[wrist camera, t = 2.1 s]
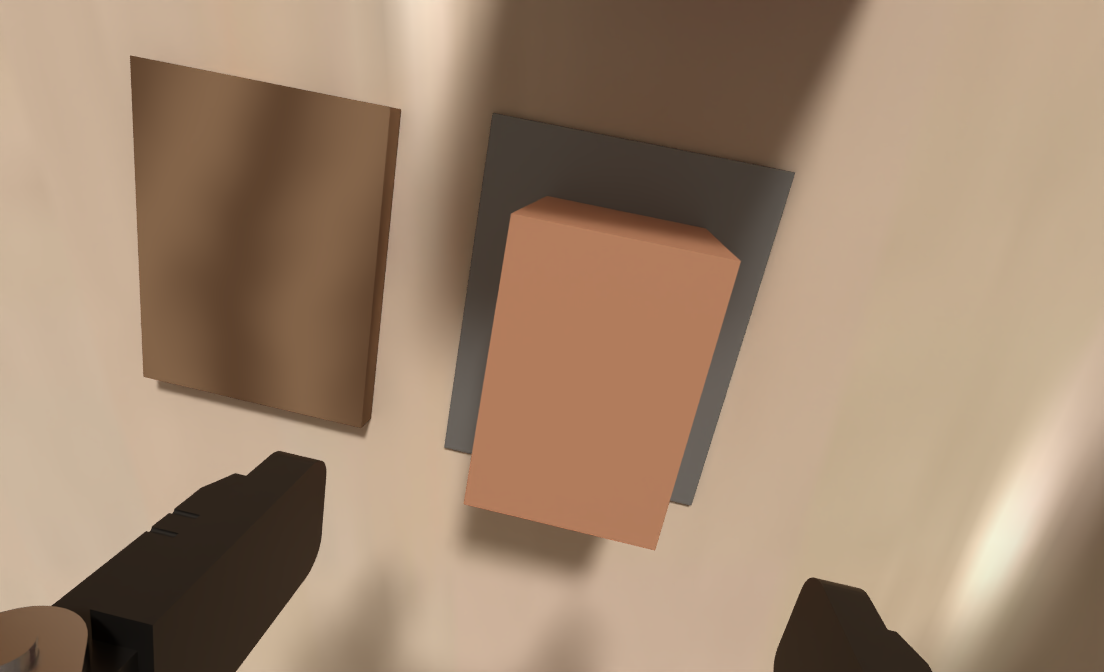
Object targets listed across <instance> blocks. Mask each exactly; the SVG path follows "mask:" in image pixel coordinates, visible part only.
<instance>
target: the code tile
mask: <svg viewBox="0 0 1104 672" xmlns="http://www.w3.org/2000/svg"><path fill="white" fill-rule="evenodd" d="M794 175H795V172H790V171H785V170H780V169H775V168H769V167H764V166H759V165H754V164H749V163H744V162H739V161H734V160H729V159H724V158H719V157H714V156H709V155H704V154H698V153H693V152H688V151H683V150H678V149H673V148H668V147H663V146H658V145H653V144H648V143H643V142H638V141H633V140H628V139H622V138H617V137H612V136H607V135H602V134H597V133H592V132H587V131H582V130H577V129H572V128H567V127H562V126H557V125H552V124H546V123H541V122H536V121H531V120H526V119H521V118H516V117H511V116H506V115H501V114H496V113H493V115H492V122H491V129H490V136H489V143H488V150H487V157H486V163H485V170H484V177H483V184H482V191H481V198H480V205H479V212H478V219H477V225H476V232H475V239H474V246H473V253H472V260H471V267H470V274H469V280H468V287H467V294H466V301H465V308H464V315H463V322H462V329H461V336H460V342H459V349H458V356H457V363H456V370H455V377H454V384H453V391H452V397H451V404H450V411H449V418H448V425H447V432H446V439H445V446H444V447H445V448H449V449H453V450H458V451H462V452H466V453H470V454H472V450H473V444H474V438H475V431H476V425H477V419H478V413H479V407H480V401H481V395H482V389H483V382H484V376H485V370H486V364H487V358H488V352H489V346H490V340H491V333H492V327H493V321H494V315H495V309H496V303H497V297H498V291H499V284H500V278H501V272H502V266H503V260H504V254H505V248H506V242H507V236H508V229H509V223H510V217H511V213H513V212H515V211H517V210H519V209H521V208H523V207H525V206H527V205H529V204H531V203H534V202H536V201H538V200H540V199H542V198H544V197H546V196H550V197H555V198H560V199H565V200H570V201H575V202H579V203H584V204H589V205H594V206H599V207H604V208H609V209H614V210H618V211H623V212H628V213H633V214H638V215H643V216H648V217H653V218H657V219H662V220H667V221H672V222H677V223H682V224H687V225H692V226H696V227H701V228H706V229H707V230H708V231H709V232H710V233H711V234H712V235H713V236H714V237H715V238H717V239H718V240H719V241H720V242H721V243H722V244H723V245H724V246H725V247H726V248H727V249H728V250H729V251H730V252H732V253H733V254H734V255H735V256H736V257H737V258H738V259H739V260H740V261H741V263H740V266H739V269H738V273H737V276H736V280H735V283H734V286H733V290H732V293H731V296H730V300H729V303H728V306H727V310H726V313H725V317H724V320H723V323H722V327H721V330H720V333H719V337H718V340H717V343H716V347H715V350H714V354H713V357H712V360H711V364H710V367H709V370H708V374H707V377H706V381H705V384H704V387H703V391H702V394H701V397H700V401H699V404H698V407H697V411H696V414H695V418H694V421H693V424H692V428H691V431H690V434H689V438H688V441H687V444H686V448H685V451H684V455H683V458H682V461H681V465H680V468H679V471H678V475H677V478H676V482H675V485H674V488H673V492H672V495H671V498H670V501H674V502H678V503H682V504H687V505H692V502H693V499H694V495H695V492H696V489H697V486H698V482H699V479H700V476H701V473H702V470H703V466H704V463H705V460H706V457H707V454H708V450H709V447H710V444H711V441H712V438H713V434H714V431H715V428H716V425H717V422H718V418H719V415H720V412H721V409H722V406H723V402H724V399H725V396H726V393H727V390H728V386H729V383H730V380H731V377H732V374H733V370H734V367H735V364H736V361H737V357H738V354H739V351H740V348H741V345H742V341H743V338H744V335H745V332H746V329H747V325H748V322H749V319H750V316H751V313H752V309H753V306H754V303H755V300H756V297H757V293H758V290H759V287H760V284H761V281H762V277H763V274H764V271H765V268H766V265H767V261H768V258H769V255H770V252H771V249H772V245H773V242H774V239H775V236H776V232H777V229H778V226H779V223H780V220H781V216H782V213H783V210H784V207H785V204H786V200H787V197H788V194H789V191H790V188H791V184H792V181H793V178H794Z"/></svg>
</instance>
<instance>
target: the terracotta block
mask: <svg viewBox="0 0 1104 672" xmlns="http://www.w3.org/2000/svg"><path fill="white" fill-rule="evenodd" d="M740 263H741V261H740V260H739V259H738V258H737V257H736V256H735V255H734V254H733V253H732V252H730V251H729V250H728V249H727V248H726V247H725V246H724V245H723V244H722V243H721V242H720V241H719V240H718V239H717V238H715V237H714V236H713V235H712V234H711V233H710V232H709V231H708V230H707V229H706V228H701V227H696V226H692V225H687V224H682V223H677V222H672V221H667V220H662V219H657V218H653V217H648V216H643V215H638V214H633V213H628V212H623V211H618V210H614V209H609V208H604V207H599V206H594V205H589V204H584V203H579V202H575V201H570V200H565V199H560V198H555V197H550V196H546V197H544V198H542V199H540V200H538V201H536V202H534V203H531V204H529V205H527V206H525V207H523V208H521V209H519V210H517V211H515V212H513V213H511V217H510V223H509V229H508V236H507V242H506V248H505V254H504V260H503V266H502V272H501V278H500V284H499V291H498V297H497V303H496V309H495V315H494V321H493V327H492V333H491V340H490V346H489V352H488V358H487V364H486V370H485V376H484V382H483V389H482V395H481V401H480V407H479V413H478V419H477V425H476V431H475V438H474V444H473V450H472V456H471V462H470V468H469V474H468V480H467V487H466V493H465V499H464V504H465V505H469V506H474V507H478V508H482V509H486V510H490V511H494V512H498V513H503V514H507V515H511V516H515V517H519V518H523V519H527V520H531V521H536V522H540V523H544V524H548V525H552V526H556V527H560V528H565V529H569V530H573V531H577V532H581V533H585V534H589V535H594V536H598V537H602V538H606V539H610V540H614V541H618V542H623V543H627V544H631V545H635V546H639V547H643V548H647V549H651V550H655V549H656V545H657V542H658V539H659V535H660V532H661V529H662V525H663V522H664V519H665V515H666V512H667V508H668V505H669V502H670V498H671V495H672V492H673V488H674V485H675V482H676V478H677V475H678V471H679V468H680V465H681V461H682V458H683V455H684V451H685V448H686V444H687V441H688V438H689V434H690V431H691V428H692V424H693V421H694V418H695V414H696V411H697V407H698V404H699V401H700V397H701V394H702V391H703V387H704V384H705V381H706V377H707V374H708V370H709V367H710V364H711V360H712V357H713V354H714V350H715V347H716V343H717V340H718V337H719V333H720V330H721V327H722V323H723V320H724V317H725V313H726V310H727V306H728V303H729V300H730V296H731V293H732V290H733V286H734V283H735V280H736V276H737V273H738V269H739V266H740Z"/></svg>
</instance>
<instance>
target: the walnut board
mask: <svg viewBox="0 0 1104 672" xmlns="http://www.w3.org/2000/svg"><path fill="white" fill-rule="evenodd" d="M130 65H131V89H132V113H133V137H134V160H135V184H136V208H137V232H138V256H139V280H140V304H141V328H142V352H143V376H144V377H147V378H151V379H155V380H159V381H164V382H168V383H172V384H176V385H181V386H185V387H189V388H193V389H198V390H202V391H206V392H210V393H215V394H219V395H223V396H227V397H232V398H236V399H240V400H244V401H249V402H253V403H257V404H261V405H265V406H270V407H274V408H278V409H282V410H287V411H291V412H295V413H299V414H304V415H308V416H312V417H316V418H321V419H325V420H329V421H333V422H338V423H342V424H346V425H350V426H355V427H359V428H362V427H363V426H364V424H365V423H366V422H367V421H368V420H369V419H370V418H371V412H372V402H373V391H374V381H375V371H376V361H377V350H378V340H379V330H380V320H381V309H382V299H383V289H384V278H385V268H386V258H387V248H388V237H389V227H390V217H391V207H392V196H393V186H394V176H395V166H396V155H397V145H398V135H399V124H400V114H401V109H396V108H392V107H387V106H382V105H377V104H372V103H366V102H361V101H356V100H351V99H346V98H341V97H336V96H331V95H326V94H321V93H316V92H311V91H306V90H301V89H296V88H291V87H286V86H281V85H276V84H271V83H266V82H261V81H256V80H251V79H246V78H241V77H236V76H231V75H226V74H221V73H216V72H211V71H206V70H201V69H196V68H191V67H186V66H180V65H175V64H170V63H165V62H160V61H155V60H150V59H145V58H140V57H135V56H130Z"/></svg>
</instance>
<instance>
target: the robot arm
mask: <svg viewBox="0 0 1104 672" xmlns="http://www.w3.org/2000/svg"><path fill="white" fill-rule="evenodd" d="M325 485H326V466H325V463H324V462H323V461H320V460H316V459H311V458H307V457H303V456H299V455H294V454H290V453H286V452H282V451H277V452H274V453H273V454H271V455H270V456H269V457H268V458H267V459H265V460H264V461H263V462H262V463H261V464H260V465H258V466H257V467H256V468H255V469H254V470H253V471H251V472H250V473H249V474H248V475H247V476H244V475H240V474H236V473H235V474H233V475H230V476H228V477H226V478H223V479H221V480H219V481H216V482H214V483H211V484H209V485H207V486H204V487H202V488H200V489H199V490H198V491H196V492H195V493H194V494H193V495H191V496H190V497H189V498H188V499H186V500H185V501H184V502H183V503H181V504H180V505H179V506H177V507H176V508H175V509H174V512H173V513H172V514H171V513H169V514H167V515H166V516H165V517H164V518H162V519H161V520H160V521H158V522H157V523H156V524H155V525H153V526H152V529H151V531H150V532H147V531H146V532H145V533H143V534H142V535H141V536H139V537H138V538H137V539H136V540H134V541H133V542H132V543H131V544H129V545H128V546H127V547H126V548H124V549H123V550H122V551H120V552H119V553H118V554H117V555H115V556H114V557H113V558H112V559H110V560H109V561H108V562H107V563H105V564H104V565H103V566H101V567H100V568H99V569H98V570H96V571H95V572H94V573H93V574H91V575H90V576H89V577H87V578H86V579H85V580H84V581H82V582H81V583H80V584H79V585H77V586H76V587H75V588H74V589H72V590H71V591H70V592H68V593H67V594H66V595H65V596H63V597H62V598H61V599H60V600H58V601H57V602H56V603H55V604H53V605H52V606H30V607H23V608H17V609H12V610H8V611H4V612H0V672H236V671H237V669H238V668H239V667H240V665H241V664H242V663H243V661H244V660H245V659H246V657H247V656H248V655H249V653H250V652H251V651H252V649H253V648H254V647H255V645H256V644H257V643H258V641H259V640H260V639H261V637H262V636H263V635H264V633H265V632H266V631H267V629H268V628H269V627H270V625H271V624H272V623H273V621H274V620H275V619H276V617H277V616H278V615H279V613H280V612H281V611H282V609H283V608H284V607H285V605H286V604H287V603H288V601H289V600H290V599H291V597H292V596H293V594H294V593H295V592H296V590H297V589H298V588H299V586H300V585H301V584H302V582H303V581H304V580H305V578H306V577H307V575H308V574H309V572H310V570H311V568H312V566H313V564H314V562H315V559H316V557H317V554H318V551H319V547H320V543H321V536H322V523H323V511H324V498H325ZM774 672H932V670H931V669H930V667H929V665H928V664H927V663H926V662H925V661H924V660H923V659H922V658H921V657H920V655H919V654H918V653H917V652H916V651H915V650H914V649H913V648H912V647H911V646H910V645H909V644H908V643H907V642H906V641H905V640H904V639H903V638H902V637H901V636H900V635H899V634H898V633H897V632H895V631H891V630H887V628H886V626H885V624H884V623H883V621H882V619H881V617H880V615H879V614H878V612H877V610H876V608H875V607H874V605H873V603H872V601H871V600H870V598H869V596H868V595H867V593H866V592H865V591H864V590H862V589H860V588H856V587H851V586H847V585H843V584H838V583H834V582H830V581H826V580H821V579H817V578H810V579H808V580H807V581H806V582H805V583H804V585H803V587H802V589H801V592H800V594H799V597H798V599H797V601H796V604H795V606H794V609H793V611H792V614H791V616H790V619H789V621H788V624H787V626H786V629H785V631H784V633H783V636H782V638H781V641H780V643H779V646H778V648H777V651H776V655H775V660H774Z"/></svg>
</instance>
